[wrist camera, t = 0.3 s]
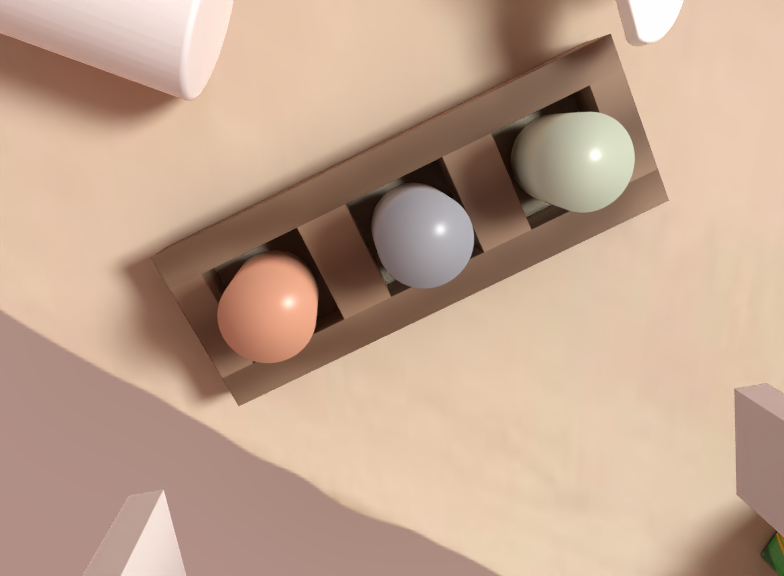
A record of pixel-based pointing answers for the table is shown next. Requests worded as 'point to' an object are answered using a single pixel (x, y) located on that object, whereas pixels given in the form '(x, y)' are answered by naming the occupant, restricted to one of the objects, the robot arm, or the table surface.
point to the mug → (128, 37)
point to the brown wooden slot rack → (385, 164)
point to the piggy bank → (647, 19)
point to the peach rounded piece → (269, 307)
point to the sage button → (573, 160)
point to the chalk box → (775, 554)
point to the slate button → (421, 235)
